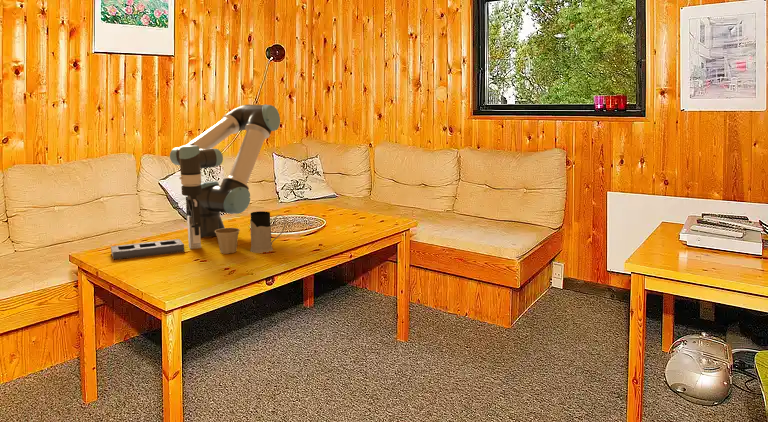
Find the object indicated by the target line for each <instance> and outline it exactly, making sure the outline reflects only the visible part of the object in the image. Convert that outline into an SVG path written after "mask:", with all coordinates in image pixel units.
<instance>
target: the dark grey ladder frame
mask: <svg viewBox="0 0 768 422" xmlns="http://www.w3.org/2000/svg"><path fill="white" fill-rule="evenodd" d="M110 252H111V257H112V256H113V257H112V259H118V260H124V259H123V258H127V259H134V258H135V257H136V258H142V257H150V256H151V257H153V256H158V255H168V254H176V253H184V252H185V243H183V242H182V240H181V239H180V238H176V239H167V240H166V239H165V240H159V241H158V240H157V241H149V242H138V243H128V244H120V245H119V244H117V245H110Z"/></svg>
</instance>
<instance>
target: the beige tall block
mask: <svg viewBox="0 0 768 422" xmlns="http://www.w3.org/2000/svg"><path fill="white" fill-rule="evenodd" d="M186 221H187V234H188V235H187V239H188V248H189V249H190V250H194V249H201V248H202V244H201V243H202V242H201V243H193V229H192V228H191V226H193V222H192V215H187V219H186ZM200 238H202V237H201V236H200Z"/></svg>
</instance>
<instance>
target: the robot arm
mask: <svg viewBox="0 0 768 422" xmlns="http://www.w3.org/2000/svg"><path fill="white" fill-rule="evenodd" d="M280 125H281V117H280V113H279V111H278V109H277V108H276V107H275V106H274V105H272V104H266V103H265V104H244V105H239V106H238V107H235V108H233V109H231V110H230V111H228V112H227V113H225V114H224V115H223V116H222V117H221V120H219V121H217V123H216V124H214V125H213V126H211V127H209V128H207V130H205V131H204V132H202V133H201V134H200V135H198V136H197V137H195V138H193V139H192V140H191V141H189V142H188V143H187V144H184V145H181V146H179V147H178V146H177V147H173V148H172V149H171V151H170V152H169V158H170V162H171V163H172V164H173V165H175V166H179V167H180V170H179V171H180V177H179V180H180V183H181V185H182V186H181V194H182V196H185V205H186V206H185V208H186V209H185V210H186V212H185V216H186V218H185V219H186V220H187V215H192V222H193V226H191V228H192V229H193V243H202V241H201V240H202V239H201V238H205V237H206V238H208V237H217V236H216V233H215V230H217V229H222V228H226V227H225V225H224V222H223V219H222V217H221V213H225V214H230V215H232V214H233V215H234V214H242V213H243V212H244V211H246V210H247V209H248V208H249V206H250V202H251V192H250V190H249V189H250V188H249V185H248V183H249V180H250V177H251V174H252V172H253V170H254V167H255V165H256V162H257V160H258V157H259V154H260V153H261V149H262V147H263V144H264V142H265V140H266V139H268V138H270V136H271V134H272V132H275V131H277V130H278V129H279V128H280ZM241 131H246V132H245V134H244V137H243V139H242V142H241V144H240V147H239V150H238V152H237V154H236V156H235V159H234V161H233V164H232V166H231V169H230V171H229V174H228V176H226V177H224V178H223V179H222V181H221V183H219V181H217V180H216V181H215V180H213V181H205V182H202V173H201V172H202V170H201V169H208V168H209V169H210V168H215V167H219V166H221V165H222V163H223V161H224V155H223V152H222V151H221V150H220V149H219V148H215V147H216V146H217V145H219V144H221V142H223V141H224V140H226V139H227V138H228V137H229V136H231V135H233V134H234V135H235V134H238V133H239V132H241ZM200 236H201V238H200Z"/></svg>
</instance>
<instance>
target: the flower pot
mask: <svg viewBox="0 0 768 422" xmlns="http://www.w3.org/2000/svg"><path fill="white" fill-rule="evenodd" d="M240 231H241V229H240V228H237V227H225V228H222V229H217V230H215V233H216V236H215V237H217V243H218V246H219V252H220V253H221V254H226V255H227V254H233V253H236V252H237V248H238V238H239V233H240Z"/></svg>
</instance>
